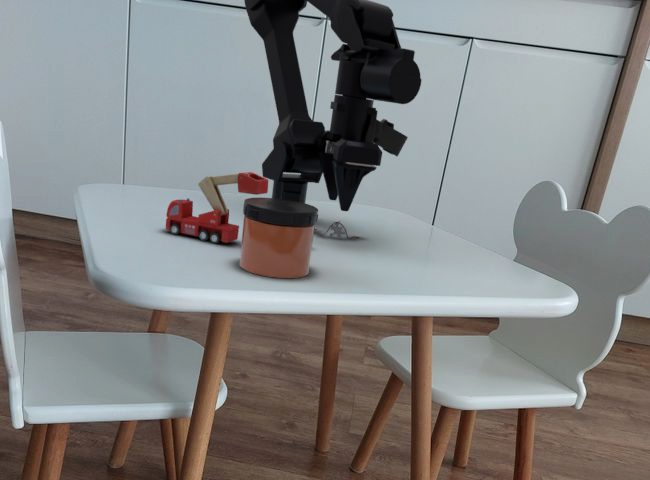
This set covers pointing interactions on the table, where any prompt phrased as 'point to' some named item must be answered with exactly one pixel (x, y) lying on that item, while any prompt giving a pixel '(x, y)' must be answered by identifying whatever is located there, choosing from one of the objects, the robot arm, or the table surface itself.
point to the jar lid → (280, 211)
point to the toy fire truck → (217, 220)
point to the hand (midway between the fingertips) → (338, 205)
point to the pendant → (337, 231)
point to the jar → (276, 249)
